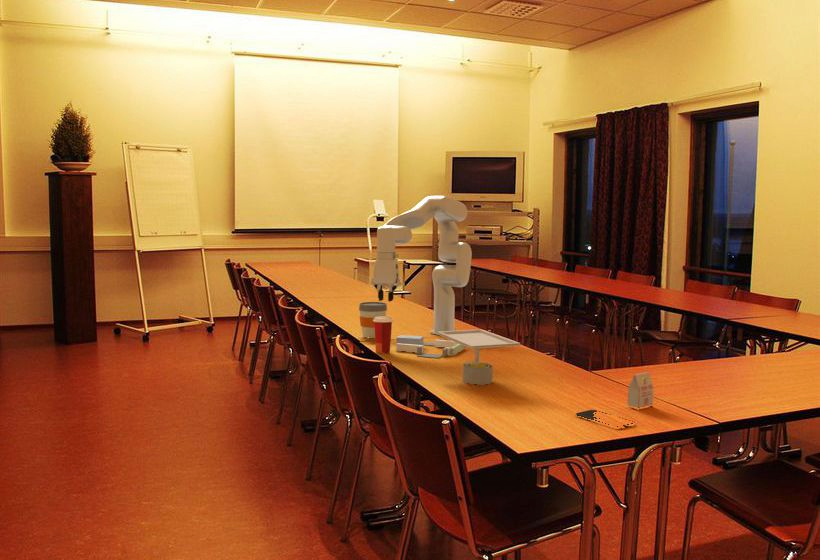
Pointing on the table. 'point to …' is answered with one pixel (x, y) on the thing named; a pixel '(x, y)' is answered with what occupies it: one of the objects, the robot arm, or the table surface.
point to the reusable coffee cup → (370, 316)
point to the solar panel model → (477, 352)
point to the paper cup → (382, 333)
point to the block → (410, 340)
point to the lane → (449, 349)
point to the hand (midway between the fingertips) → (385, 300)
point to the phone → (590, 415)
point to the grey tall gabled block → (640, 391)
